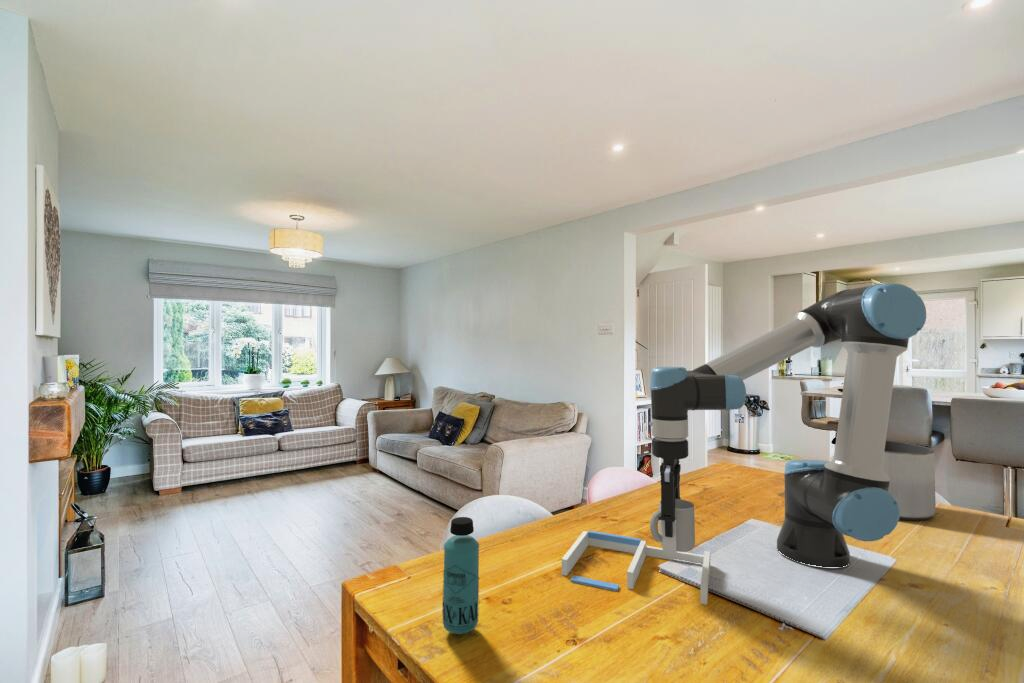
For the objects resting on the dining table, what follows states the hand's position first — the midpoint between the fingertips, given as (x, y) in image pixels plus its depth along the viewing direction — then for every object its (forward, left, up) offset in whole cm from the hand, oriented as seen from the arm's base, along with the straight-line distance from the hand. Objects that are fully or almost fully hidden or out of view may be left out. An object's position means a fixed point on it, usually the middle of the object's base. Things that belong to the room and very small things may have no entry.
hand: (671, 543), depth 105 cm
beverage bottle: (+32, +35, -8) cm, 48 cm away
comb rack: (+8, -2, -8) cm, 11 cm away
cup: (0, +1, -1) cm, 1 cm away
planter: (-57, -77, -8) cm, 96 cm away
